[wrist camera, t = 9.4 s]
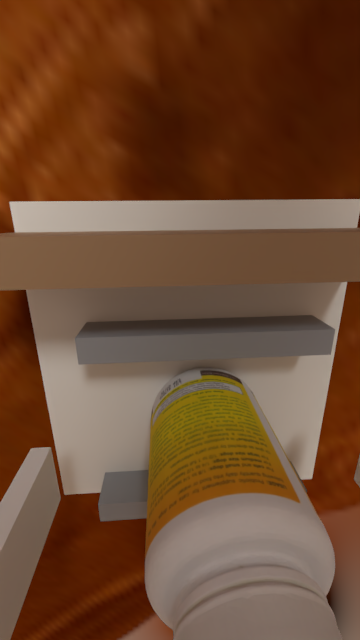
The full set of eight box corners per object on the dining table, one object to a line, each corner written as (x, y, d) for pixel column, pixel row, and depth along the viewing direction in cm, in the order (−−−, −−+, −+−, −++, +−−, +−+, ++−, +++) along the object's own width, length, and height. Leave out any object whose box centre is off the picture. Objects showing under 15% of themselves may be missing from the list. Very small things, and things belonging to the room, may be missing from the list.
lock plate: (20, 203, 13) (-62, 192, 8) (348, 200, 14) (447, 190, 9) (69, 480, 18) (37, 572, 13) (304, 465, 19) (352, 547, 14)
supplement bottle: (129, 403, 15) (77, 718, 6) (213, 342, 14) (321, 586, 5) (193, 465, 17) (237, 789, 7) (272, 412, 16) (440, 701, 6)
